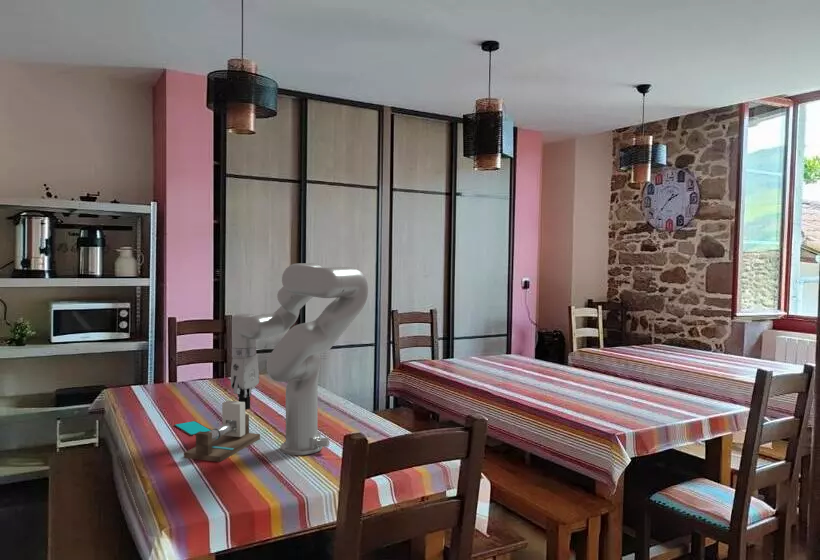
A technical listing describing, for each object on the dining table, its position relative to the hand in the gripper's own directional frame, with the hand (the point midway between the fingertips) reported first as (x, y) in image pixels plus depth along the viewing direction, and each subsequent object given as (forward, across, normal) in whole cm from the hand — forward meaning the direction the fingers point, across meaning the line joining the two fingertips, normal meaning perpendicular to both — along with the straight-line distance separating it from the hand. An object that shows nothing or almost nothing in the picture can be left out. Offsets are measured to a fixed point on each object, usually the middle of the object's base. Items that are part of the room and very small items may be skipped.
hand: (244, 408), depth 191 cm
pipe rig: (+9, -12, 0) cm, 15 cm away
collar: (+7, -6, 0) cm, 9 cm away
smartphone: (+10, +2, +21) cm, 23 cm away
